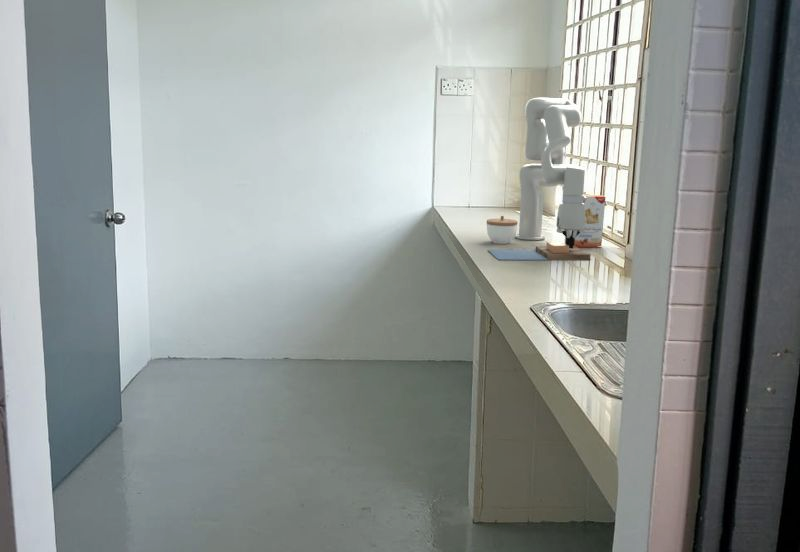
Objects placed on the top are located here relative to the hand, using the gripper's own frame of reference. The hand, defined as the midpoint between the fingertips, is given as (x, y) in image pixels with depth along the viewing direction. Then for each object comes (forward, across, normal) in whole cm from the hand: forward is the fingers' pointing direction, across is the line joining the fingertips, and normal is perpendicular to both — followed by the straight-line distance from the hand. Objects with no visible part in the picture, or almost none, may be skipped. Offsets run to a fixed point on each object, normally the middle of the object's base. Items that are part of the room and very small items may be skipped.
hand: (569, 247), depth 304 cm
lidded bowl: (+3, +20, -30) cm, 36 cm away
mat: (+3, +20, 0) cm, 20 cm away
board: (+3, +3, 0) cm, 4 cm away
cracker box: (+3, -12, -21) cm, 25 cm away
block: (0, +5, 0) cm, 5 cm away
